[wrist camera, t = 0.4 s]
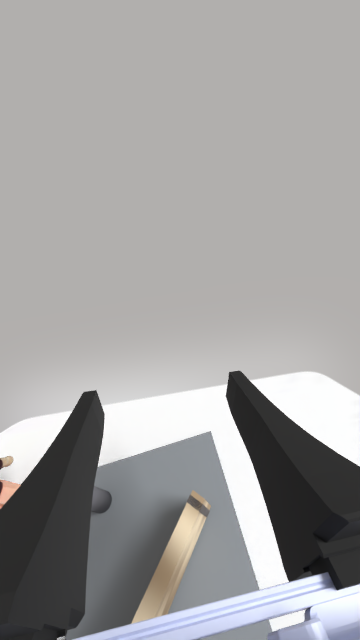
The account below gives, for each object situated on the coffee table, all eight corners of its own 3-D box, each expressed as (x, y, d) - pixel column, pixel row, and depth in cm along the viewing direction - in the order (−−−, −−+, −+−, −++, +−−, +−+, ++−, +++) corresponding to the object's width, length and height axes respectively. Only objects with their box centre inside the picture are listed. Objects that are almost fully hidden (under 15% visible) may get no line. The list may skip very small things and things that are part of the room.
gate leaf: (137, 689, 16) (108, 726, 13) (125, 670, 17) (94, 701, 13) (211, 506, 22) (205, 499, 19) (200, 497, 23) (192, 489, 20)
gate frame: (302, 731, 14) (330, 825, 9) (50, 816, 14) (-53, 957, 9) (210, 432, 28) (203, 408, 23) (82, 472, 28) (48, 457, 23)
